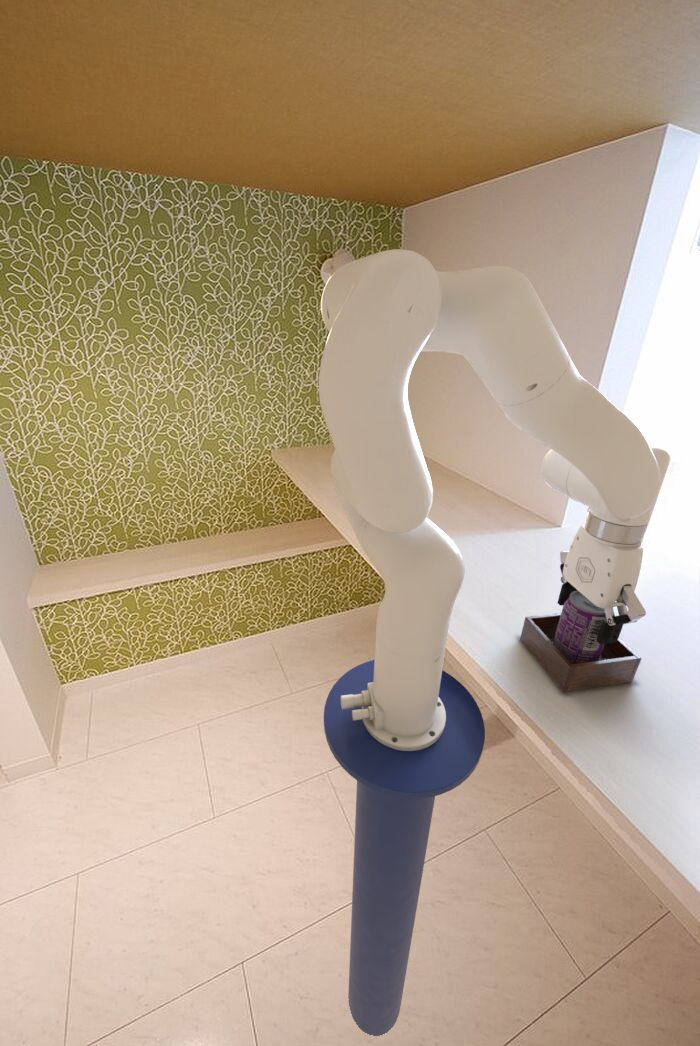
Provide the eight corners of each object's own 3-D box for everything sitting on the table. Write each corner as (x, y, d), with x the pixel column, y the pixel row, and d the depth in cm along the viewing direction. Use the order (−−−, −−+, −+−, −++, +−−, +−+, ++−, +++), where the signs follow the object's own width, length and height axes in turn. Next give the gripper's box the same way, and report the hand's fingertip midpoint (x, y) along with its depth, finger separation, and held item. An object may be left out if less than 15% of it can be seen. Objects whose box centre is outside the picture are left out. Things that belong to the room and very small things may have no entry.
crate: (562, 692, 67) (570, 668, 65) (519, 639, 78) (525, 616, 76) (632, 682, 69) (642, 658, 67) (581, 631, 80) (588, 609, 78)
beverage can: (602, 659, 74) (622, 601, 68) (587, 681, 69) (608, 621, 64) (559, 639, 78) (575, 583, 73) (543, 659, 73) (559, 600, 68)
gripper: (555, 505, 70) (534, 593, 77) (638, 559, 54) (602, 662, 62) (596, 502, 71) (571, 589, 78) (689, 554, 56) (647, 656, 63)
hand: (585, 621), depth 70 cm, fingers open, 9 cm apart
